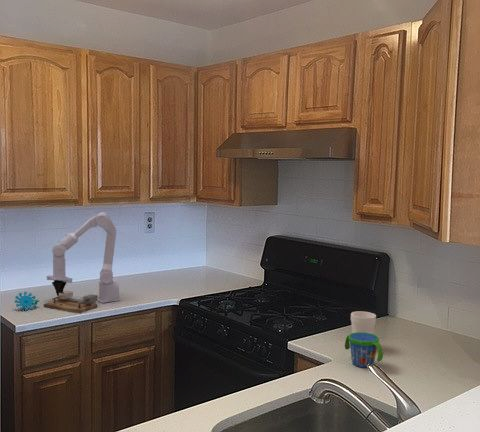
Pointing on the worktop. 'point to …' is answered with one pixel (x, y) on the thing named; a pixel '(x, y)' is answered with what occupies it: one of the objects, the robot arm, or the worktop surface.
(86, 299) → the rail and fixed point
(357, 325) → the foam cup
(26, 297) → the gear
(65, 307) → the hole board
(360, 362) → the snack cup
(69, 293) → the slider
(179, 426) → the worktop surface
